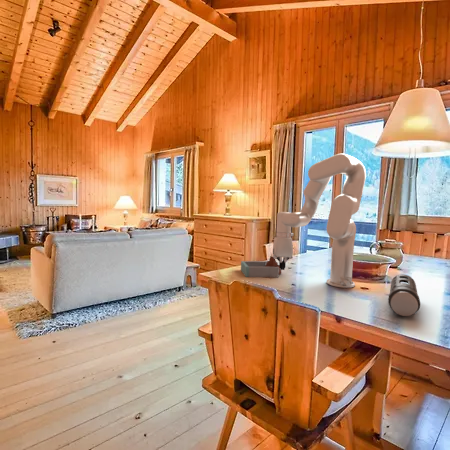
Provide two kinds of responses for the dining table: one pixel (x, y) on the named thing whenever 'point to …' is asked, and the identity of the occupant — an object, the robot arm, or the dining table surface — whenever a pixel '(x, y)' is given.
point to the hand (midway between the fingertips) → (282, 269)
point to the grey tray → (258, 269)
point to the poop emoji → (273, 264)
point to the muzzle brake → (403, 296)
